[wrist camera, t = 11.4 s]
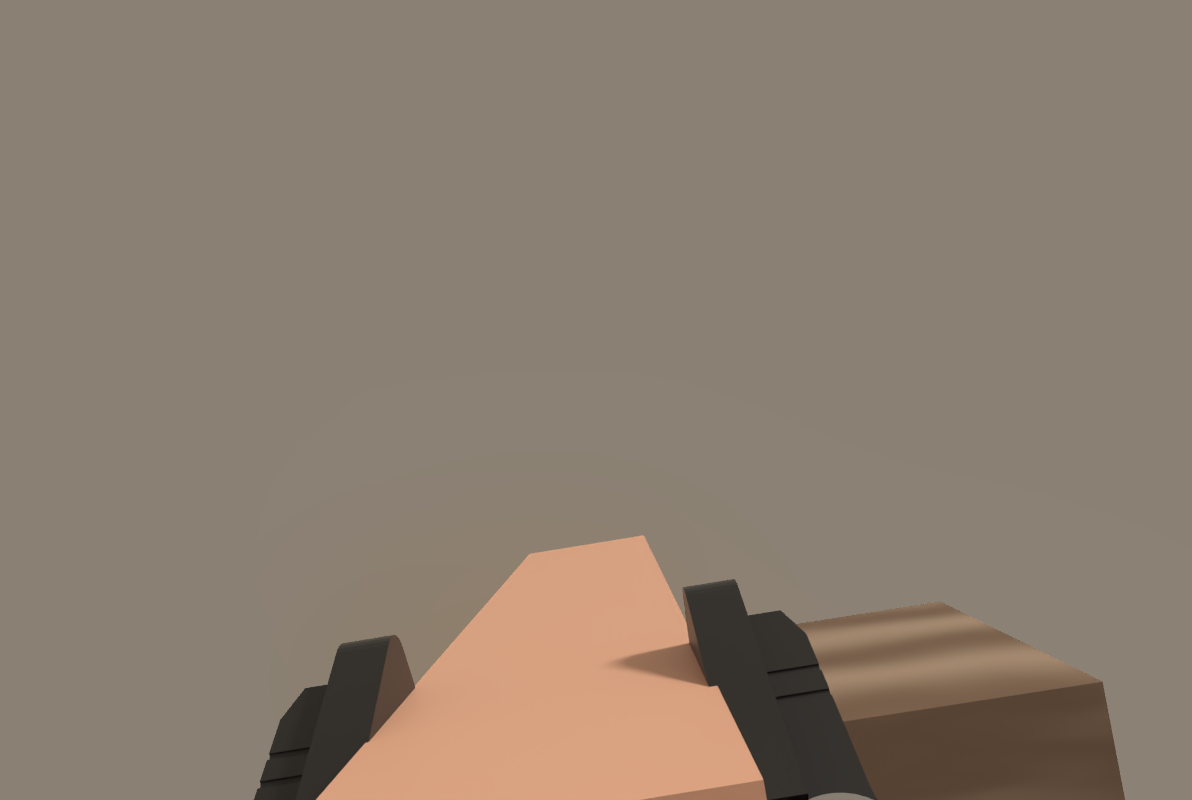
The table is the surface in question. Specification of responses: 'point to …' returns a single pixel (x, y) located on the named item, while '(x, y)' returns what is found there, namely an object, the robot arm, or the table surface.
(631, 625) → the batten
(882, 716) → the pedestal
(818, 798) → the robot arm
